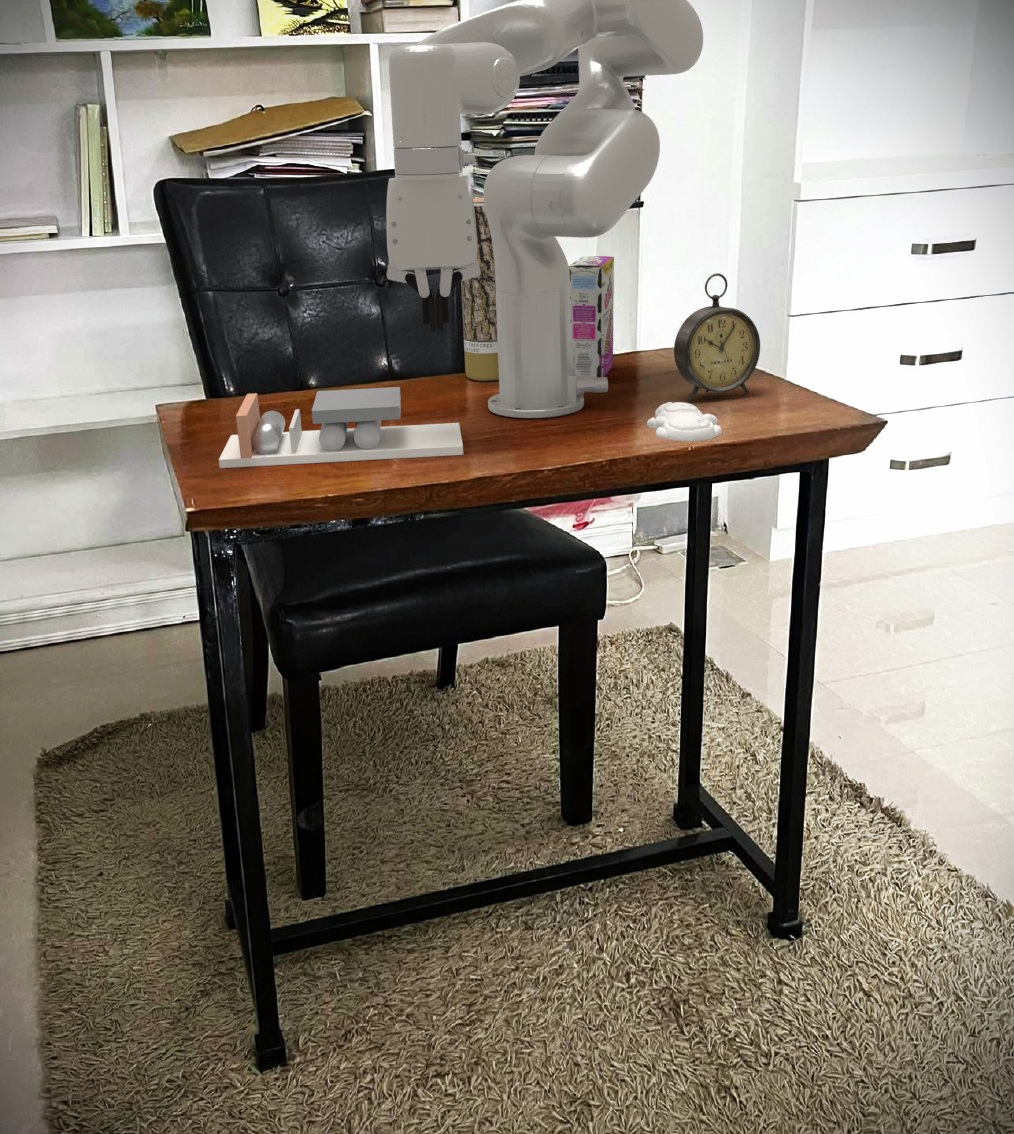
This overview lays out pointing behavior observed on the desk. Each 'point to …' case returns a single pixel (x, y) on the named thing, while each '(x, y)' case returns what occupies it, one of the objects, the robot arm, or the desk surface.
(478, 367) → the paper tube
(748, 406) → the desk surface
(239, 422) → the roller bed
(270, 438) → the roller
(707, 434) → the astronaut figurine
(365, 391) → the slab
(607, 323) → the candy bar box
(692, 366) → the alarm clock
